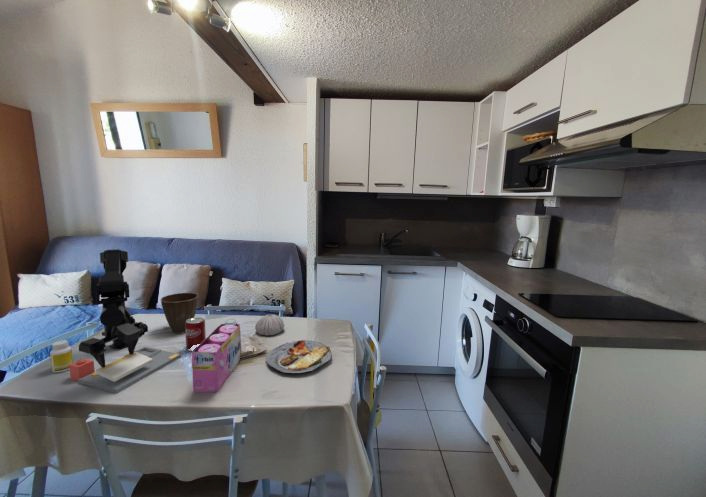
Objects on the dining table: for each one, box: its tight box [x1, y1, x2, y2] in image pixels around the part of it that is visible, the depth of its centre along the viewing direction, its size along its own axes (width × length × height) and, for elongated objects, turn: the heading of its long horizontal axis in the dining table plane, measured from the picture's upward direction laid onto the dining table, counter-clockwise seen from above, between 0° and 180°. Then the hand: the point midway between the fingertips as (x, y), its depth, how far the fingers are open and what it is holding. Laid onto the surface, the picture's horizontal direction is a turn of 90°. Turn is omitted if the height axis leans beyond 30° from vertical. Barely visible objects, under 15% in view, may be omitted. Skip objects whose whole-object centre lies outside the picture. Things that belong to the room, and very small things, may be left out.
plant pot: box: [160, 292, 199, 334], centre depth 140 cm, size 15×15×16 cm
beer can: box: [224, 318, 238, 326], centre depth 123 cm, size 5×5×12 cm
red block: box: [68, 358, 96, 382], centre depth 102 cm, size 4×4×6 cm
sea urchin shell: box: [254, 314, 285, 336], centre depth 142 cm, size 13×14×8 cm
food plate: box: [265, 339, 333, 374], centre depth 117 cm, size 25×23×4 cm
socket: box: [124, 345, 162, 358], centre depth 114 cm, size 8×8×1 cm
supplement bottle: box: [49, 339, 74, 374], centre depth 105 cm, size 5×5×10 cm
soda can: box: [184, 316, 207, 350], centre depth 123 cm, size 7×7×12 cm
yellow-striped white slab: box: [95, 352, 153, 382], centre depth 101 cm, size 8×13×1 cm, turn 164°
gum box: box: [191, 323, 242, 393], centre depth 106 cm, size 24×8×14 cm, turn 1°
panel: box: [78, 349, 182, 394], centre depth 107 cm, size 17×24×3 cm
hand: (117, 360), depth 102 cm, fingers open, 9 cm apart
